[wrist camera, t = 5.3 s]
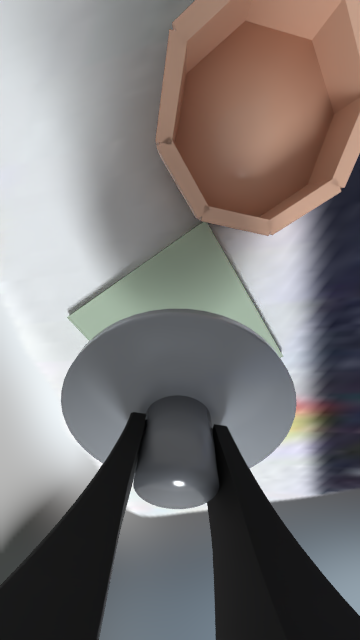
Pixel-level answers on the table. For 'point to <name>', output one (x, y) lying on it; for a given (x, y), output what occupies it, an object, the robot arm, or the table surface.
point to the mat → (176, 288)
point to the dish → (261, 108)
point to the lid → (179, 398)
